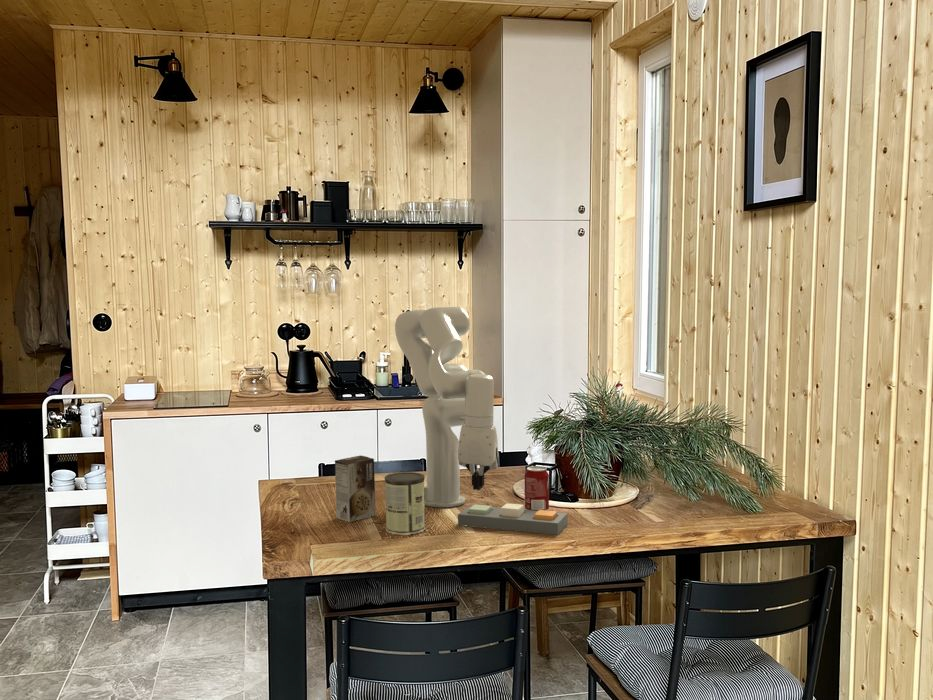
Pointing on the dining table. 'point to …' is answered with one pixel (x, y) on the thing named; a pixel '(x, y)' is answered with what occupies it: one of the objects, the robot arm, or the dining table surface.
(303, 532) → the dining table surface
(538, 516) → the orange button
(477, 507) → the sage button
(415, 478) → the coffee can
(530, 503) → the soda can
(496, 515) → the button panel
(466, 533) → the dining table surface
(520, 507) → the cream button
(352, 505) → the grey cardboard box
